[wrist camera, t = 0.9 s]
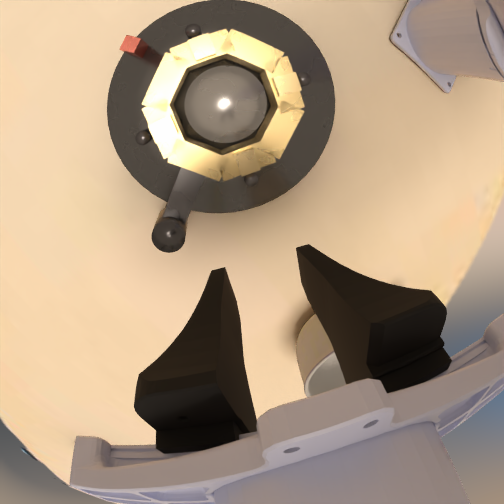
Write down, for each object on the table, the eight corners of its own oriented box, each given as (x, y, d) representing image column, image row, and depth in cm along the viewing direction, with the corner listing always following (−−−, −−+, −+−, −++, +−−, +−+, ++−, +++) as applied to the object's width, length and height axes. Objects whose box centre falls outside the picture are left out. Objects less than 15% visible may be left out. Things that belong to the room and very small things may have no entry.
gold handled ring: (189, 22, 14) (186, 9, 11) (312, 76, 17) (329, 73, 14) (112, 211, 19) (99, 229, 17) (224, 250, 23) (226, 272, 20)
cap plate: (170, -20, 12) (161, -50, 8) (360, 67, 18) (398, 63, 13) (86, 168, 19) (56, 189, 14) (270, 234, 24) (285, 268, 19)
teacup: (298, 365, 34) (315, 417, 27) (274, 308, 28) (294, 372, 21) (396, 323, 33) (425, 367, 26) (396, 258, 28) (439, 305, 21)
